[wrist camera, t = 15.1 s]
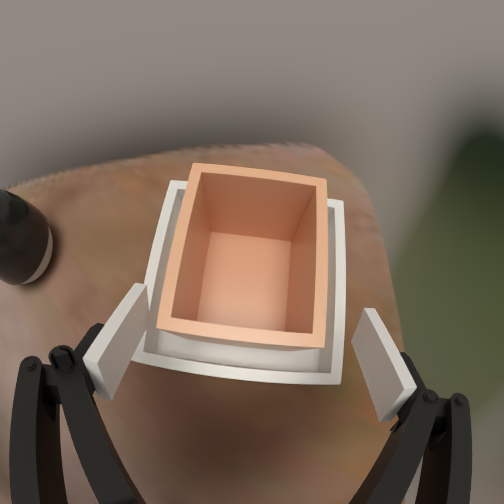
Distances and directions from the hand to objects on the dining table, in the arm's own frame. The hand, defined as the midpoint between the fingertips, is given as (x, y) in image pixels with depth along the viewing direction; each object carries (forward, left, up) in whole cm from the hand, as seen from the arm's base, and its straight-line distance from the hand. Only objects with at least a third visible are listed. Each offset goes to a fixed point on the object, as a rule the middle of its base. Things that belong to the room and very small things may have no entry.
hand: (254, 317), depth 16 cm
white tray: (-4, +3, -12) cm, 13 cm away
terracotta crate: (-4, +3, -11) cm, 12 cm away
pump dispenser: (-24, -17, -12) cm, 32 cm away
